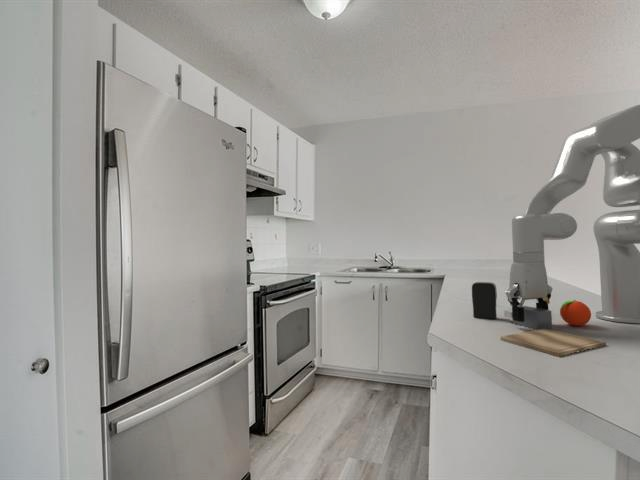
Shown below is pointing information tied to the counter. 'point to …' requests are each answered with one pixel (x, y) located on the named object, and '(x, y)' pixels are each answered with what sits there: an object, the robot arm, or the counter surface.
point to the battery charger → (484, 300)
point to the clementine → (575, 313)
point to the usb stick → (533, 318)
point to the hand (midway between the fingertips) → (530, 319)
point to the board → (553, 341)
